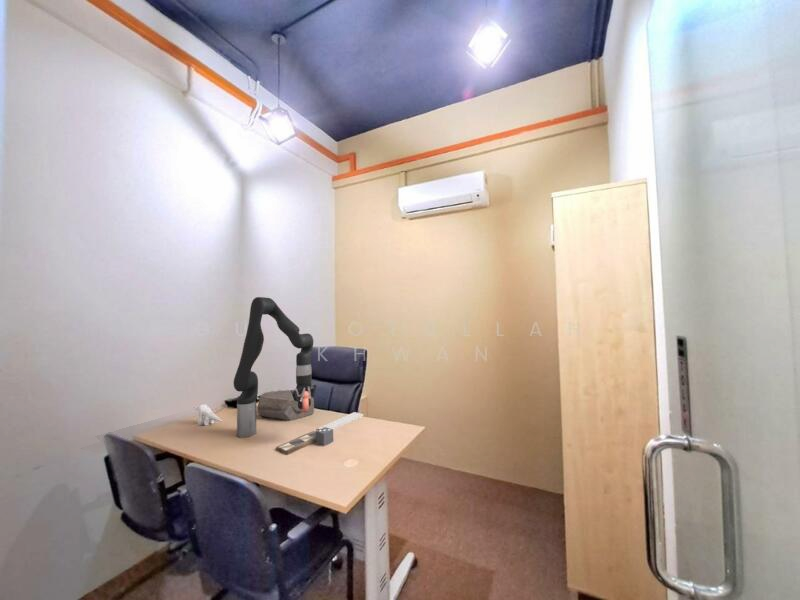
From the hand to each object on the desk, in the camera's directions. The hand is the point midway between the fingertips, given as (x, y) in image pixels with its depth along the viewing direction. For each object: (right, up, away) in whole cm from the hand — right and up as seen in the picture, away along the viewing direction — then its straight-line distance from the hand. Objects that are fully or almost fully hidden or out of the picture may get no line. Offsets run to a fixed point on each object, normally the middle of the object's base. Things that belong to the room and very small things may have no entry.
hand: (304, 407), depth 153 cm
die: (+11, -17, -1) cm, 20 cm away
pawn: (0, -2, 0) cm, 2 cm away
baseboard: (+13, -19, +26) cm, 34 cm away
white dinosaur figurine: (-65, -20, +26) cm, 73 cm away
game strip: (-1, -17, -2) cm, 17 cm away
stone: (-25, -19, +42) cm, 53 cm away
